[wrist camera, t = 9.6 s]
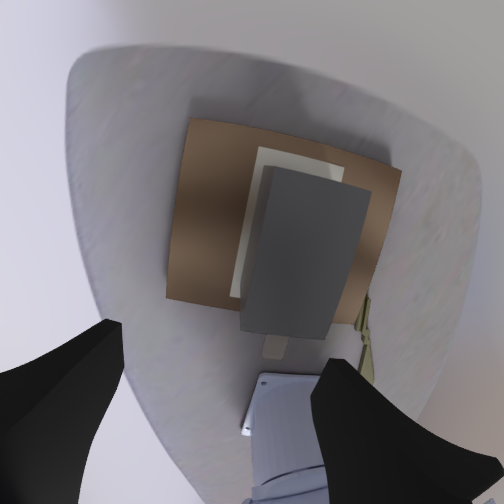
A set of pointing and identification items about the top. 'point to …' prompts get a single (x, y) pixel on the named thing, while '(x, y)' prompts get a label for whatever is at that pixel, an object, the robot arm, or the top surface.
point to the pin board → (243, 206)
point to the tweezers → (365, 342)
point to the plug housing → (298, 255)
